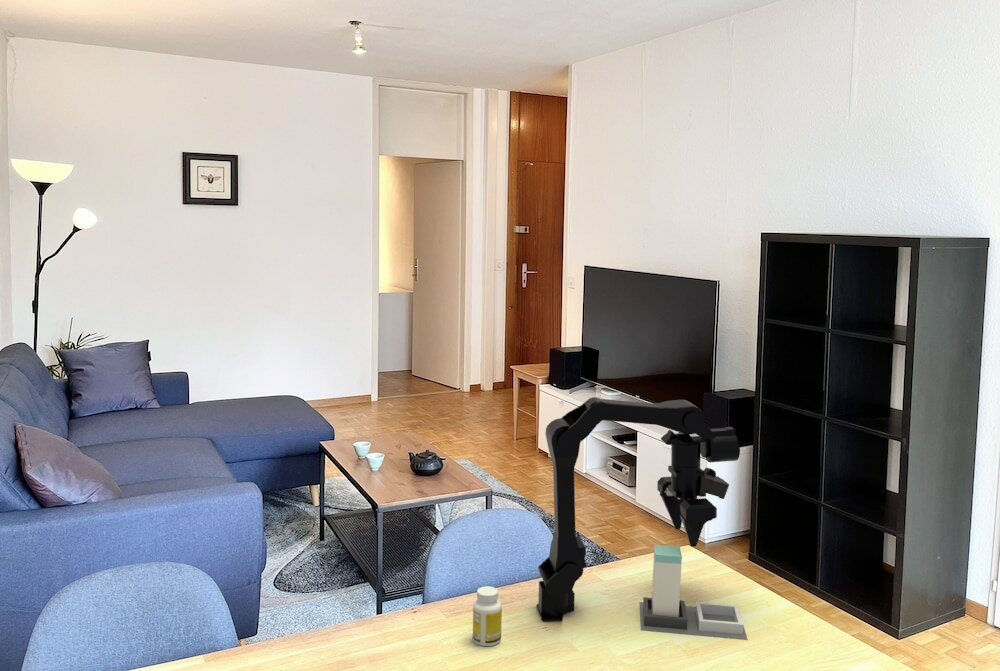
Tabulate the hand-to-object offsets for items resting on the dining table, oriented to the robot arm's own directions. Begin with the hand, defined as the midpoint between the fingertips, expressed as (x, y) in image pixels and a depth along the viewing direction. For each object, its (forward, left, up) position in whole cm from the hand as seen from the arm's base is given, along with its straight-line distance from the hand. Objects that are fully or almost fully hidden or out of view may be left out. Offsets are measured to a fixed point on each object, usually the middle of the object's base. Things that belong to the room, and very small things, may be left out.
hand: (685, 537), depth 168 cm
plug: (-6, -5, -14) cm, 16 cm away
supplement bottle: (-42, -8, -16) cm, 45 cm away
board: (-1, -7, -15) cm, 17 cm away
